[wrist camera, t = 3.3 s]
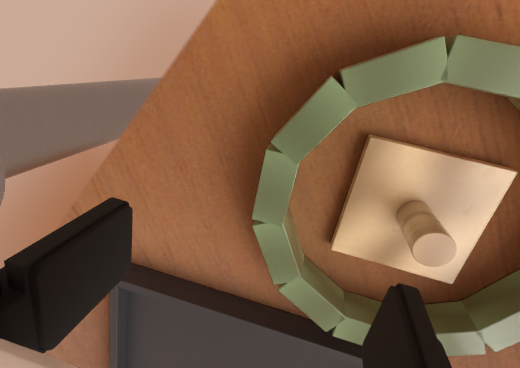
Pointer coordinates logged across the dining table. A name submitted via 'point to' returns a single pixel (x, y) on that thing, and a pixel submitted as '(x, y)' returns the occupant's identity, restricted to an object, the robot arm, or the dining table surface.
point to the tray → (212, 329)
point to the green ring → (325, 121)
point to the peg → (418, 207)
